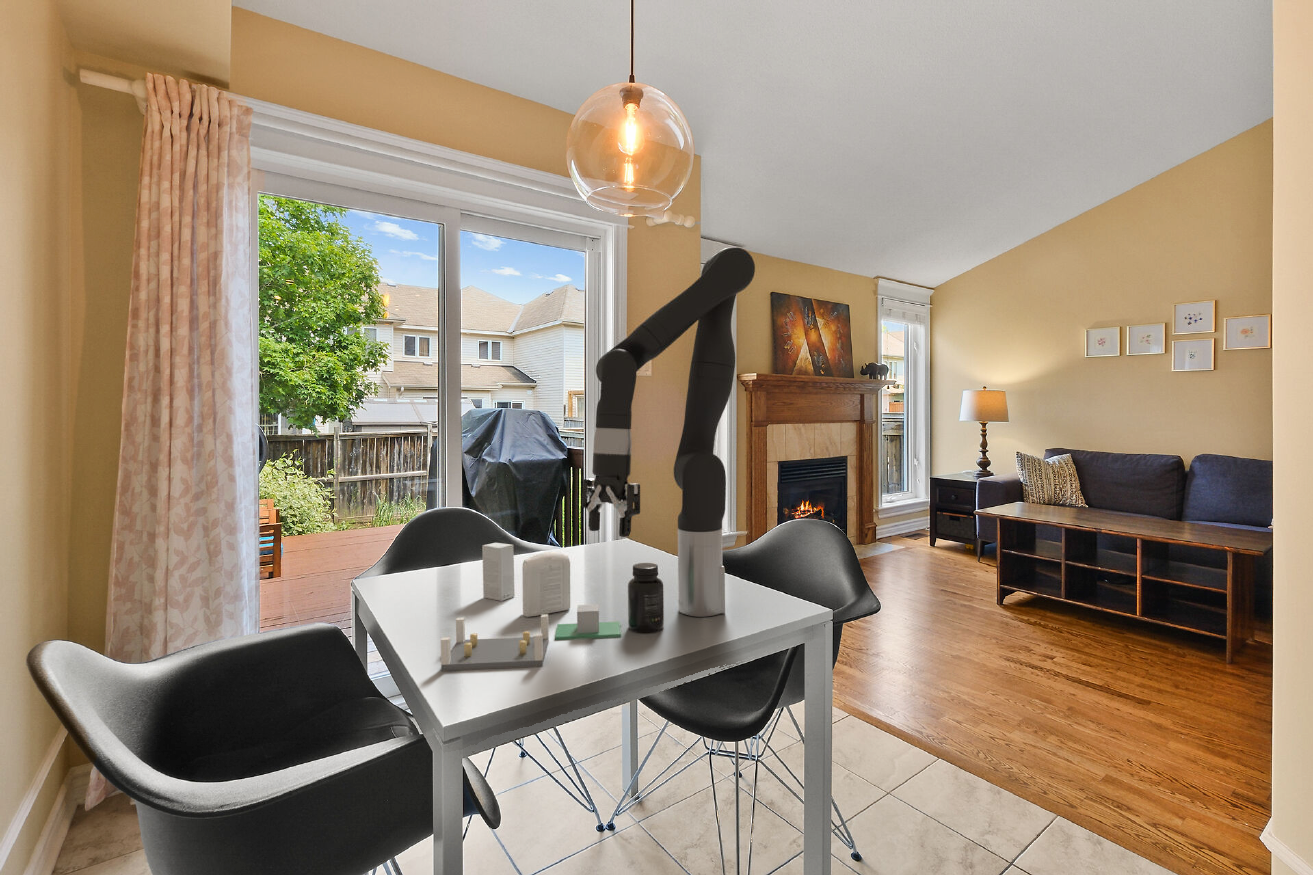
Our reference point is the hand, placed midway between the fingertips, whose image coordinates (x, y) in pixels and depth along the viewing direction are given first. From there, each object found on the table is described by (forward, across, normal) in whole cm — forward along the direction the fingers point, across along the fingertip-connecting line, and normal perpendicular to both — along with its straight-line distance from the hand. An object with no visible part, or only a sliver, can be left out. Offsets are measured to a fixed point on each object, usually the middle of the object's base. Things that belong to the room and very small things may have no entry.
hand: (608, 533), depth 120 cm
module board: (+18, -2, +6) cm, 19 cm away
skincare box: (+19, +31, +4) cm, 36 cm away
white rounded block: (+18, +14, +3) cm, 23 cm away
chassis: (+19, +1, +24) cm, 30 cm away
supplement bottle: (+17, -8, -3) cm, 20 cm away
